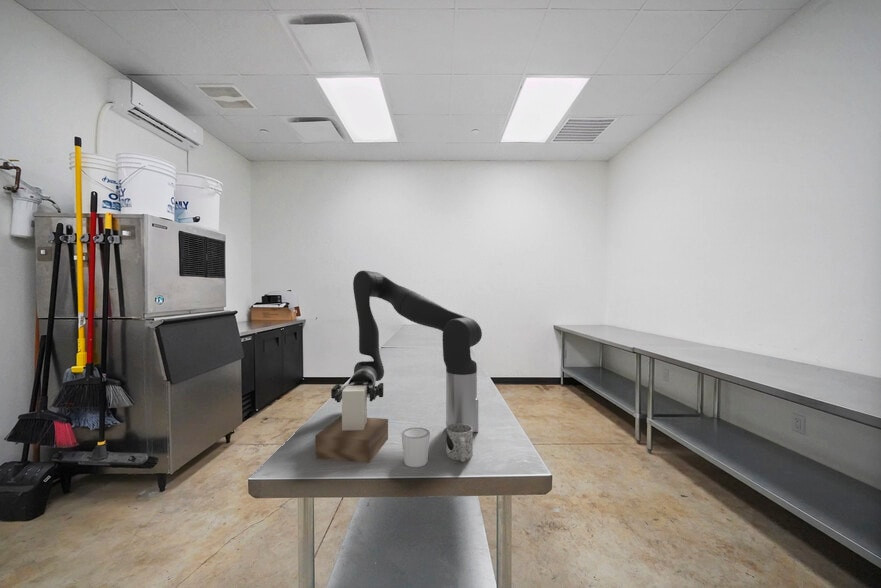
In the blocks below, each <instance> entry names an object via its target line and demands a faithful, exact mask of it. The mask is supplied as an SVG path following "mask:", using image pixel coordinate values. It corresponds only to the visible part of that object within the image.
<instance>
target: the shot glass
mask: <svg viewBox="0 0 881 588" xmlns="http://www.w3.org/2000/svg"><path fill="white" fill-rule="evenodd" d="M430 435H431V432H430V430H429V429H427V428H423V427H410V428H406V429H404V430H402V432H401V444H402V452H403V463H404V465H405V466H407V467H411V468H419V467H423V466H425V465H426V464H427V463H428V461H429V460H428V459H429V445H430V438H431V437H430Z"/></svg>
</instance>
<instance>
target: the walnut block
mask: <svg viewBox="0 0 881 588" xmlns="http://www.w3.org/2000/svg"><path fill="white" fill-rule="evenodd" d="M388 440H389V419H388V418H383V417H382V418H378V417H367V423H366V425H365V428H364V430H343V431H342V415H341V416H339V417H338V418H337V419H335V420H334V421H333V422H331V423H330V424H328V425H327V426H326V427H325V428H323V429H322V430H320V431H319V432H318V433H317V434H315V453H314V454H315V459H317V460H319V459H320V460H329V459H331V460H332V461H333V460H334V461H343V462H355V463H365V464H366V463H367V464H368V463H369V464H370V463H371V462H372V460H373V459H374V457H375V456H376V455H377V454H378V453H379V451H380V450H381V449H382V448H383V446H384V445H385V444H386V442H387V441H388ZM331 460H330V461H331Z"/></svg>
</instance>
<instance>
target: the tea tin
mask: <svg viewBox="0 0 881 588" xmlns="http://www.w3.org/2000/svg"><path fill="white" fill-rule="evenodd" d="M367 401H368V397H367V385H365V386H346V387H345V388H344V390H343V391H342V399H341V416H342V431H343V430H364V428H365V425H366V423H367V418H368V413H367V412H368V407H367V406H368V405H367V404H368V402H367Z"/></svg>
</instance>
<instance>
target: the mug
mask: <svg viewBox="0 0 881 588" xmlns="http://www.w3.org/2000/svg"><path fill="white" fill-rule="evenodd" d="M445 427H446V426H445ZM445 433H446V435H445V437H446V439H445V441H446V442H445V443H446V444H445V445H446V446H445V448H446V449H445V451H446V453H445V455H446V457H447V458H448V459H449V460H453V461H456V462H457V461H459V462H462V463H464V462H465V461H468V460H470V459H471V458H472V457H473V456H474V455H473V454H474V453H473V449H474V448H473V446H474V445H473V444H474V443H473V442H474V441H473V440H474V439H473V434H474V432H473V428H472V427H471V426H470V425H467V424H462V423H455V424H450V425H448V426H447V427H446V431H445Z"/></svg>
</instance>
